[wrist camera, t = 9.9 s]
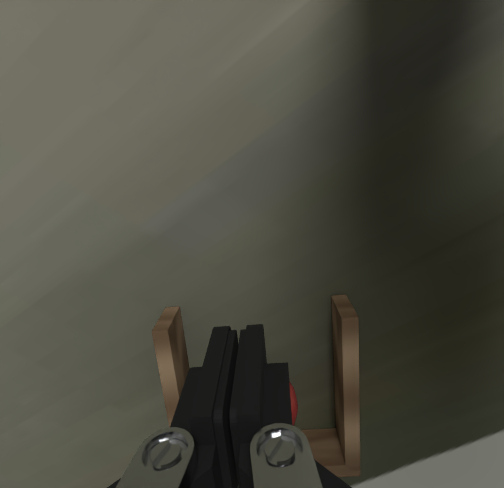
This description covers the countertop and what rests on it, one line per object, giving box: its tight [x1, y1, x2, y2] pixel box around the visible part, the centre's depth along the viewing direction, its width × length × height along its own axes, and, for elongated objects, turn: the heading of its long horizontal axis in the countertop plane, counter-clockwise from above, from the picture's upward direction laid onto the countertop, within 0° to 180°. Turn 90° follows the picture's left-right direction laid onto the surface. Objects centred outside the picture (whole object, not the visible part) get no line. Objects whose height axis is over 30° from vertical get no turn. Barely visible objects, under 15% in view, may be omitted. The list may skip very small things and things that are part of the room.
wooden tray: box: [152, 295, 360, 477], centre depth 30 cm, size 15×15×4 cm
